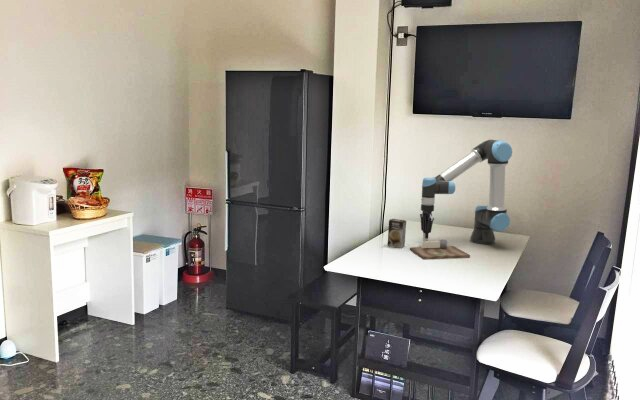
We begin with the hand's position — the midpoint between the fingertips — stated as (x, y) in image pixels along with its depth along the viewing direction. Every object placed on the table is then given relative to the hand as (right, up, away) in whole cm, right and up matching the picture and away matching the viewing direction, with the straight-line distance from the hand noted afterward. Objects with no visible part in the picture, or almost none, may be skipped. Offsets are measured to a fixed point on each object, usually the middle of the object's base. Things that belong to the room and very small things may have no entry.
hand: (425, 243), depth 319 cm
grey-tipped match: (+5, -3, -4) cm, 6 cm away
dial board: (+6, -5, -9) cm, 12 cm away
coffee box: (-16, -2, +5) cm, 17 cm away
